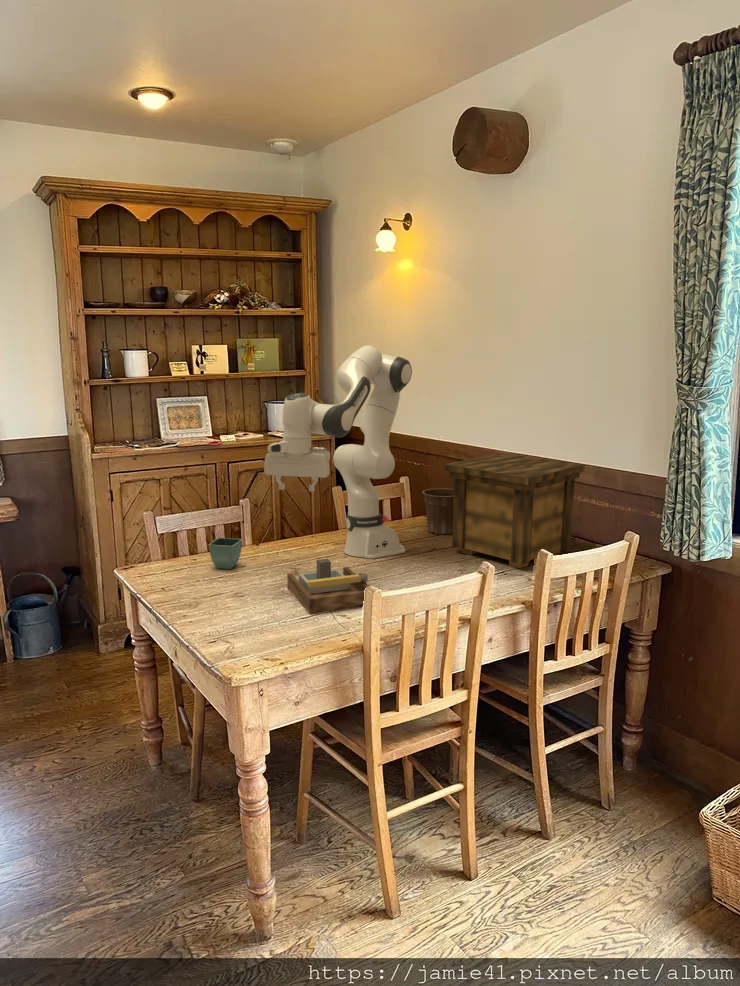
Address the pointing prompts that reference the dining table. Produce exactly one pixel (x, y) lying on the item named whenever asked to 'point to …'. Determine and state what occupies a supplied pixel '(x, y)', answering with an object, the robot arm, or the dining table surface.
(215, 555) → the flower pot
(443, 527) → the plant pot
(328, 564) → the shallow grey tray
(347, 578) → the yellow bar
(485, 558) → the dining table surface
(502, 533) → the crate
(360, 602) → the tray
